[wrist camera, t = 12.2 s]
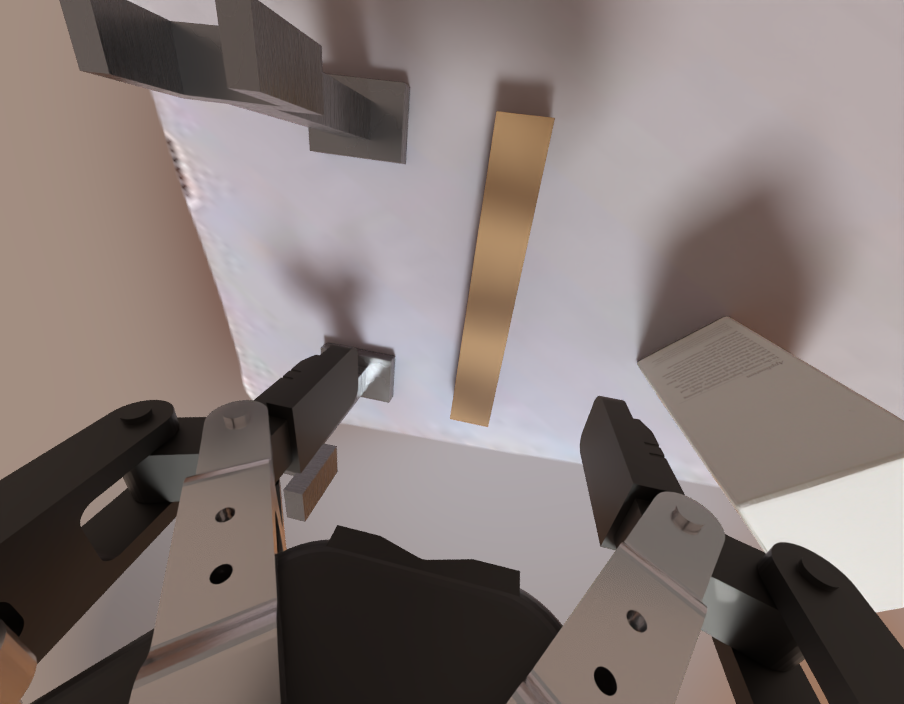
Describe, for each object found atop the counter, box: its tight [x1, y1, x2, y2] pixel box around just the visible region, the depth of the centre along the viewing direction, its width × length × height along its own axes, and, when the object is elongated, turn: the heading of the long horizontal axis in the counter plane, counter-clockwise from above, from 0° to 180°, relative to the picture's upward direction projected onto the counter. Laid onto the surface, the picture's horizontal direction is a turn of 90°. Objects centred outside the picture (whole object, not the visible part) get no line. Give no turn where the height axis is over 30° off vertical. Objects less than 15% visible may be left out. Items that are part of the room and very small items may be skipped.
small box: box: [637, 316, 904, 612], centre depth 19 cm, size 8×6×13 cm
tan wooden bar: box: [450, 111, 555, 427], centre depth 23 cm, size 20×3×3 cm, turn 173°
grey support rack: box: [60, 0, 410, 521], centre depth 19 cm, size 22×6×14 cm, turn 173°
